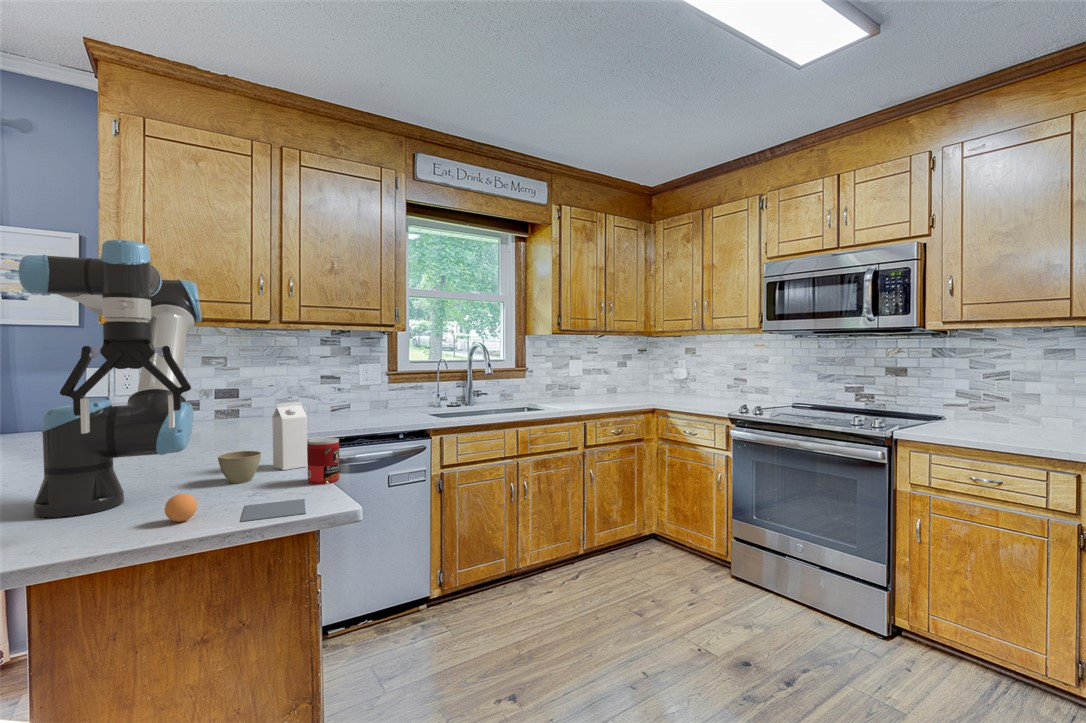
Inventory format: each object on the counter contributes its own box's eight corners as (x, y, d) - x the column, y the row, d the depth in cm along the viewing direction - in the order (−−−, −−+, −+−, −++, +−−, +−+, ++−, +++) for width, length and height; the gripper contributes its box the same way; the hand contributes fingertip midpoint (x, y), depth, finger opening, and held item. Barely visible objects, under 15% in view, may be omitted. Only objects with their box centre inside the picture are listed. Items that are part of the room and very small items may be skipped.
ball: (162, 527, 107) (161, 499, 106) (168, 519, 112) (167, 492, 111) (195, 523, 109) (194, 495, 109) (199, 515, 114) (198, 489, 114)
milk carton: (273, 467, 160) (271, 403, 160) (297, 463, 165) (296, 401, 165) (283, 470, 155) (281, 404, 155) (307, 466, 161) (306, 402, 160)
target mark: (240, 521, 109) (240, 520, 109) (245, 506, 120) (245, 505, 120) (305, 513, 114) (305, 512, 114) (304, 499, 125) (304, 498, 125)
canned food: (329, 485, 138) (328, 442, 138) (301, 484, 140) (300, 441, 140) (345, 478, 146) (345, 437, 146) (319, 477, 147) (318, 436, 147)
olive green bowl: (209, 485, 139) (208, 457, 139) (237, 476, 149) (236, 450, 149) (243, 486, 138) (243, 458, 138) (269, 477, 148) (269, 451, 147)
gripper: (36, 318, 97) (39, 437, 97) (201, 321, 109) (203, 427, 109) (49, 321, 103) (52, 432, 103) (204, 323, 115) (206, 423, 115)
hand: (130, 430), depth 106 cm, fingers open, 13 cm apart
